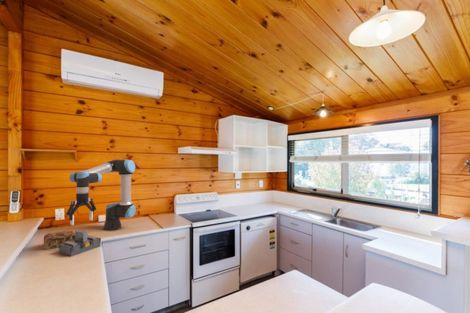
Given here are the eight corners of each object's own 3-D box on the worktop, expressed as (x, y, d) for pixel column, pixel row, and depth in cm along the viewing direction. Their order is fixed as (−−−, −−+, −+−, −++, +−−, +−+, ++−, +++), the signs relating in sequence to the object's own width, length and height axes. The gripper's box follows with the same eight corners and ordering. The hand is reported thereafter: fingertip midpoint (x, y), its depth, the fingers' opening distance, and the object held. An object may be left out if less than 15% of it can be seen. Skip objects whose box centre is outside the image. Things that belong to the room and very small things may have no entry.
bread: (43, 250, 165) (44, 236, 165) (43, 246, 173) (43, 232, 173) (75, 244, 177) (76, 231, 177) (73, 241, 185) (74, 228, 185)
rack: (88, 243, 180) (89, 234, 180) (101, 246, 174) (101, 236, 174) (59, 253, 160) (59, 242, 161) (71, 256, 155) (72, 246, 155)
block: (87, 245, 167) (87, 231, 167) (83, 247, 164) (83, 232, 165) (79, 243, 171) (79, 229, 171) (74, 245, 168) (75, 230, 168)
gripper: (95, 190, 181) (94, 217, 181) (60, 194, 158) (59, 226, 158) (102, 191, 178) (101, 219, 178) (67, 195, 155) (66, 227, 155)
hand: (81, 222), depth 168 cm, fingers open, 13 cm apart
